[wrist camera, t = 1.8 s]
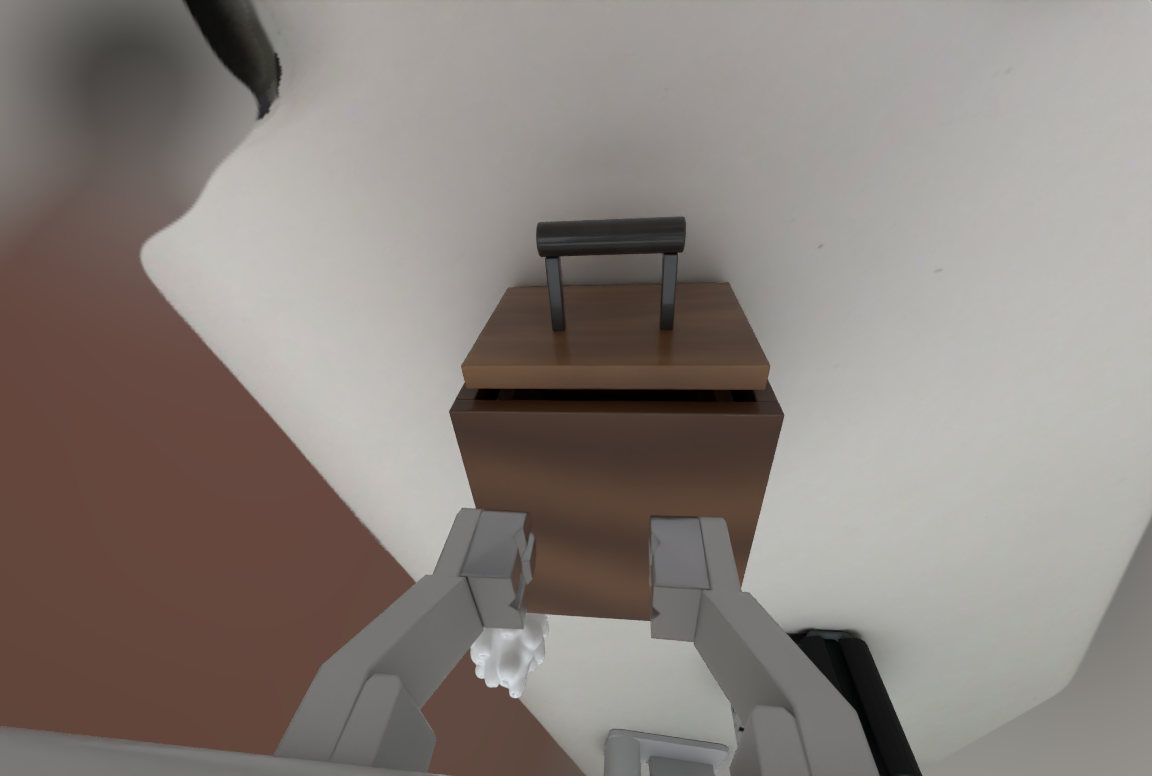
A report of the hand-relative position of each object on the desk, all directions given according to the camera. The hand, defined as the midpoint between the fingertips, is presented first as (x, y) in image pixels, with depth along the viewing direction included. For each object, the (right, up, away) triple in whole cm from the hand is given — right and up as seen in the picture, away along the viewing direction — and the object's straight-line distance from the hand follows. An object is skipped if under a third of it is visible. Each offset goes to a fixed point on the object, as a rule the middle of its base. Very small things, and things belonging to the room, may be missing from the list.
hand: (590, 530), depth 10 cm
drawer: (+2, +5, +18) cm, 19 cm away
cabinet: (+3, +2, +22) cm, 22 cm away
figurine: (-5, -12, +33) cm, 35 cm away
